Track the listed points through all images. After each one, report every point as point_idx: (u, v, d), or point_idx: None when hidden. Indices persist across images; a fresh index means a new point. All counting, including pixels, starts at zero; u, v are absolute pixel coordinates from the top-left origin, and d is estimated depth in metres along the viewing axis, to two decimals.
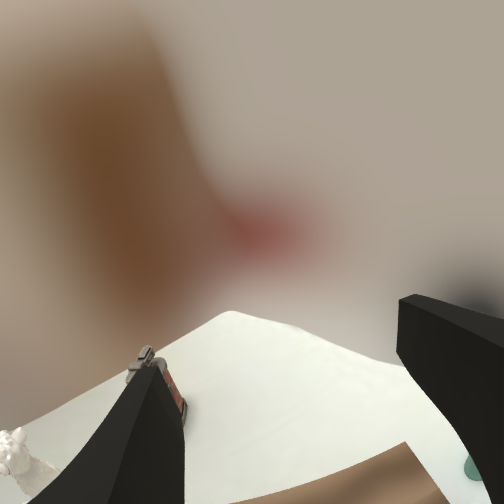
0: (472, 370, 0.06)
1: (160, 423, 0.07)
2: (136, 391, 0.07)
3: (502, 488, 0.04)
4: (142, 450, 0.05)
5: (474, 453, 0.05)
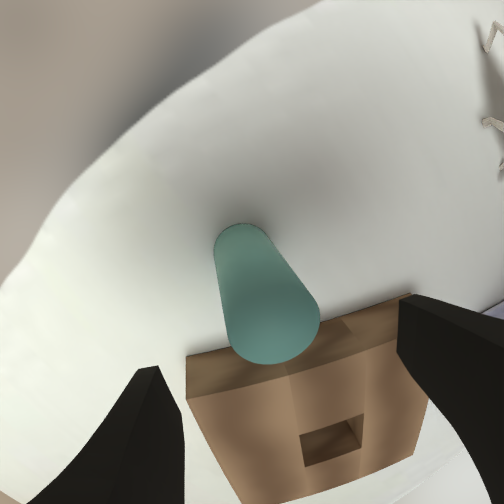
0: (472, 370, 0.06)
1: (160, 423, 0.07)
2: (136, 391, 0.07)
3: (502, 488, 0.04)
4: (142, 450, 0.05)
5: (475, 453, 0.05)
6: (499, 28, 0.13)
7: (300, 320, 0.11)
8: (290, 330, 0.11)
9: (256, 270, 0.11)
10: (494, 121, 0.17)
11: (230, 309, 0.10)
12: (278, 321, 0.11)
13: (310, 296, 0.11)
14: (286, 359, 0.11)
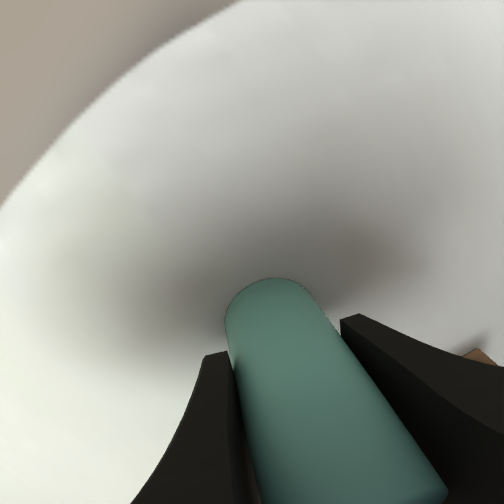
0: (406, 405, 0.06)
1: (237, 409, 0.07)
2: (215, 376, 0.07)
3: None
4: (234, 436, 0.05)
5: None
6: None
7: None
8: None
9: (342, 450, 0.04)
10: None
11: None
12: None
13: (444, 489, 0.03)
14: None
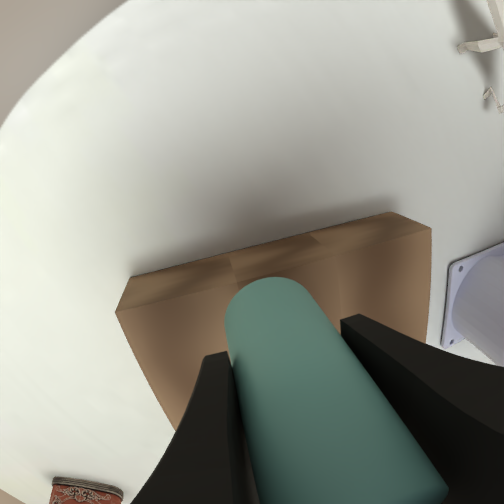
0: (406, 405, 0.06)
1: (237, 409, 0.07)
2: (215, 376, 0.07)
3: None
4: (234, 436, 0.05)
5: None
6: None
7: None
8: None
9: (339, 447, 0.04)
10: (469, 44, 0.14)
11: None
12: None
13: (444, 487, 0.03)
14: None
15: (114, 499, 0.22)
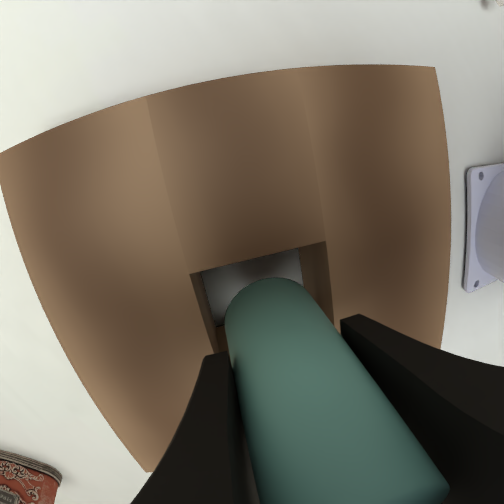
0: (406, 405, 0.06)
1: (237, 409, 0.07)
2: (215, 376, 0.07)
3: None
4: (234, 436, 0.05)
5: None
6: None
7: None
8: None
9: (339, 445, 0.04)
10: None
11: None
12: None
13: (445, 485, 0.03)
14: None
15: (48, 481, 0.16)
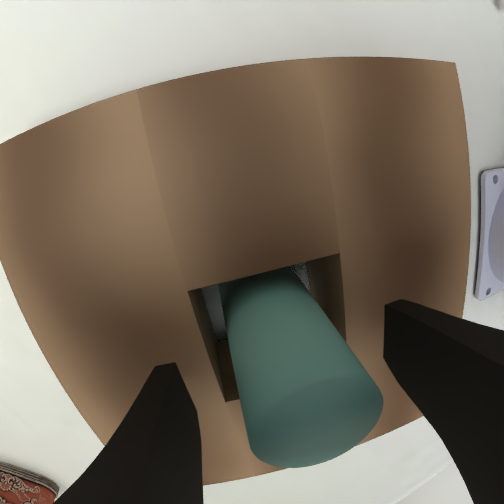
0: (457, 379, 0.06)
1: (179, 420, 0.07)
2: (156, 388, 0.07)
3: (487, 499, 0.04)
4: (165, 447, 0.05)
5: (460, 463, 0.05)
6: None
7: (356, 416, 0.06)
8: (340, 429, 0.07)
9: (292, 348, 0.07)
10: None
11: (254, 414, 0.06)
12: (326, 422, 0.06)
13: (375, 387, 0.06)
14: (330, 458, 0.07)
15: (44, 493, 0.15)
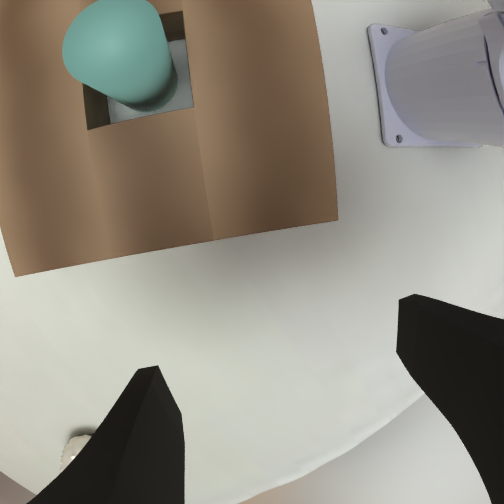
0: (472, 370, 0.06)
1: (160, 423, 0.07)
2: (136, 391, 0.07)
3: (502, 488, 0.04)
4: (142, 450, 0.05)
5: (475, 453, 0.05)
6: None
7: (138, 30, 0.07)
8: (126, 41, 0.07)
9: None
10: None
11: (72, 26, 0.07)
12: (114, 31, 0.07)
13: (151, 6, 0.07)
14: (119, 80, 0.08)
15: None
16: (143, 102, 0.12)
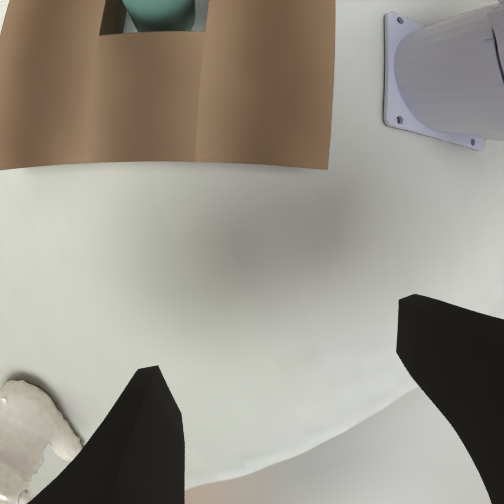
0: (472, 370, 0.06)
1: (160, 423, 0.07)
2: (136, 391, 0.07)
3: (502, 488, 0.04)
4: (142, 450, 0.05)
5: (475, 453, 0.05)
6: None
7: None
8: None
9: None
10: None
11: None
12: None
13: None
14: None
15: None
16: (158, 22, 0.11)
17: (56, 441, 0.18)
